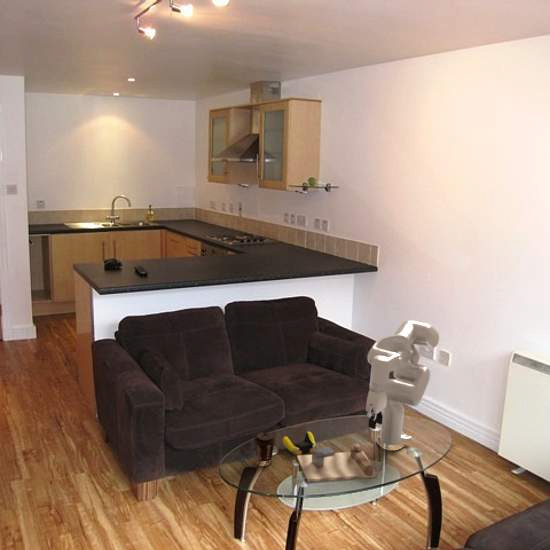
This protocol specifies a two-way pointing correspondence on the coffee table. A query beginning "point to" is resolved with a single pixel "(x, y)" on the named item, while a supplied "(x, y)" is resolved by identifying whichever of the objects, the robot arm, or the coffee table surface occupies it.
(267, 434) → the coffee cup
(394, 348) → the robot arm
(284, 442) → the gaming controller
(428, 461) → the coffee table surface
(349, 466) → the pivot board
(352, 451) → the link
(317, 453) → the keeper
